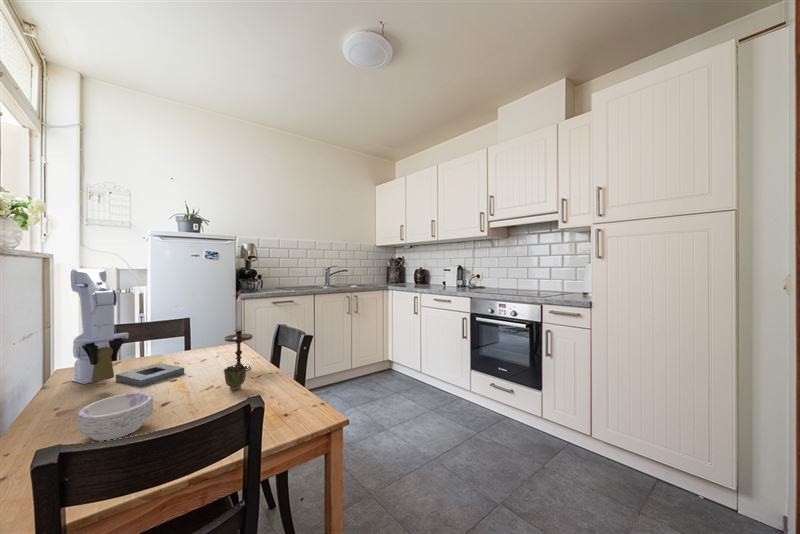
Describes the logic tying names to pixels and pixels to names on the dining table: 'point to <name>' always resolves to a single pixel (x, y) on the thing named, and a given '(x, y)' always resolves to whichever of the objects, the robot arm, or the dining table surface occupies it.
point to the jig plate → (149, 374)
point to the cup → (235, 376)
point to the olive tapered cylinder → (103, 365)
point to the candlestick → (238, 333)
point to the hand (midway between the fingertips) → (103, 362)
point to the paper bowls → (115, 416)
